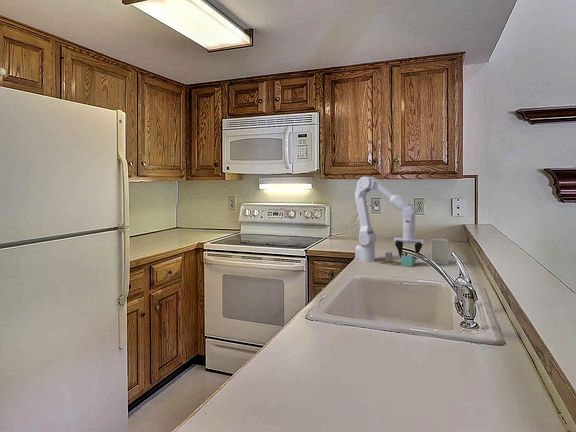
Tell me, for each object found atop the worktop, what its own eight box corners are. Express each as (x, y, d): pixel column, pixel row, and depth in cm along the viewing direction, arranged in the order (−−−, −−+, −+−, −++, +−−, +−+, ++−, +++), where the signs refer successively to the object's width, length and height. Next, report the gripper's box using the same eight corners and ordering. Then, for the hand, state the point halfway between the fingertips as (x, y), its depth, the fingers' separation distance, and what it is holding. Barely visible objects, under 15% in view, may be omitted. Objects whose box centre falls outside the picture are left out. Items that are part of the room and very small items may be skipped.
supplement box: (448, 266, 191) (448, 240, 190) (432, 266, 193) (432, 240, 192) (445, 263, 199) (446, 238, 198) (430, 262, 200) (430, 238, 199)
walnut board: (377, 265, 196) (377, 263, 196) (384, 262, 203) (384, 260, 203) (413, 269, 186) (413, 267, 186) (419, 266, 193) (419, 264, 193)
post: (385, 262, 197) (385, 252, 197) (387, 261, 199) (387, 252, 199) (390, 263, 195) (390, 253, 195) (392, 262, 198) (392, 252, 197)
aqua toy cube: (401, 265, 191) (401, 251, 190) (404, 263, 195) (405, 250, 194) (412, 266, 188) (412, 252, 187) (415, 264, 192) (415, 251, 191)
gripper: (391, 229, 191) (391, 257, 192) (421, 231, 183) (421, 260, 184) (396, 228, 197) (396, 255, 198) (426, 230, 188) (425, 258, 189)
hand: (408, 257), depth 191 cm, fingers open, 7 cm apart
